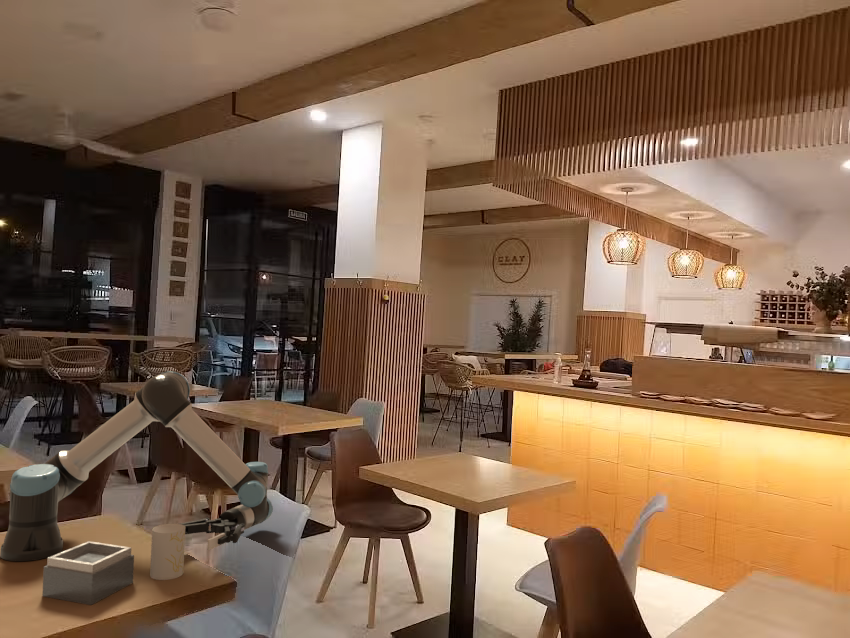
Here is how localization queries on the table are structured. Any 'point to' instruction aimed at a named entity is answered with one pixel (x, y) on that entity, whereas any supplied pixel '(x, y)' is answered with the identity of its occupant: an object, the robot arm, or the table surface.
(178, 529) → the cup
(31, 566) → the table surface
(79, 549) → the box
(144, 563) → the table surface
